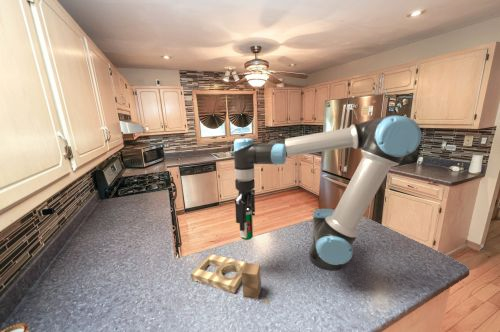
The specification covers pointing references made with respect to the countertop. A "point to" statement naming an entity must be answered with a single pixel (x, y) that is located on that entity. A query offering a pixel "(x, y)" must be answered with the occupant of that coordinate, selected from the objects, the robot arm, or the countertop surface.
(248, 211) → the soda can
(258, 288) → the walnut square peg
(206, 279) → the socket board
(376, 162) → the robot arm
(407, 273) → the countertop surface
